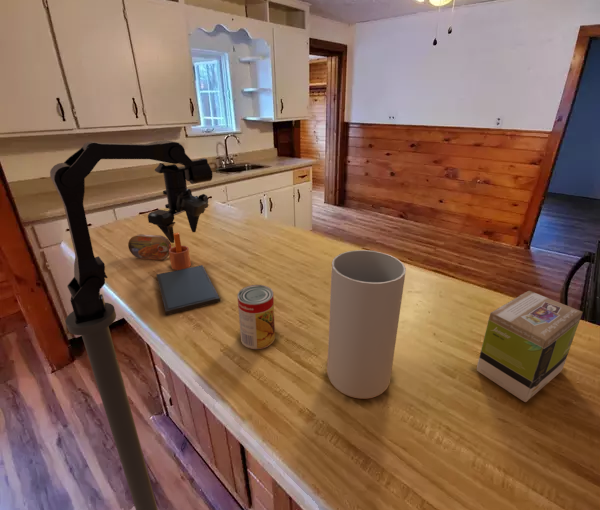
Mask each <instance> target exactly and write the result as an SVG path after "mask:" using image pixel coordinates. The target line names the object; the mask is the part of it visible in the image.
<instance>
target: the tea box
mask: <svg viewBox="0 0 600 510" xmlns="http://www.w3.org/2000/svg"><path fill="white" fill-rule="evenodd" d="M583 313H584V311H582V310H579V309H577V308H574V307H572V306H569V305H567V304H564V303H561V302H560V301H556V300H554V299H552V298H549V297H547V296H544V295H542V294H539V293H537V292H534V291H532V290H528V291H526V292H524V293H522V294H520V295H518V296H517V297H515V298H513V299H511V300H510V301H508V302H506V303H504V304H503V305H501V306H499V307H497V308H496V309H494V310H493V311H491V312H490V313H489V316H488V319H487V323H486V329H485V332H484V335H483V336H484V337H483V340H482V345H481V349H480V353H479V358H478V361H477V366H476V371H477V372H478V373H480V374H481V375H483V376H484V377H485V378H487V379H489V380H490V381H492V382H493V383H495V384H496V385H498V386H499V387H501V388H502V389H504V390H505V391H507V392H508V393H510V394H512V395H513V396H514V397H515V398H517V399H519V400H520V401H522V402H524V403H527V402H528V401H529V400H531V399H532V398H533V397H534V396H535V395H536V394H537V393H538V392H539V391H541V390H542V389H543V388H545V386H546V385H547V384H549V383H550V382H551V381H552V380H553V379H555V377H557V376H558V375H559V374H560V373H561V372H562V371H563V370H564V366H565V364H566V361H567V359H568V355H569V352H570V350H571V347H572V344H573V341H574V338H575V336H576V332H577V329H578V327H579V325H580V322H581V319H582V316H583Z"/></svg>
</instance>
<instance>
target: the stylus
mask: <svg viewBox="0 0 600 510" xmlns="http://www.w3.org/2000/svg"><path fill="white" fill-rule="evenodd" d="M173 233H174V247H176V253H180V252H182V248H181V246H182V242H181V235H180V233H179V232H173Z"/></svg>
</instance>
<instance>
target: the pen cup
mask: <svg viewBox="0 0 600 510" xmlns="http://www.w3.org/2000/svg"><path fill="white" fill-rule="evenodd" d="M171 247H172V246H171ZM181 248H182V252H180V253H176V247H175V246H173V247H172V248H171V249H169V261H170V268H171V269H172V270H173V271H176V270H181V269H185V268H190V267H192V266H191V265H192V263H191V262H192V261H191V254H190V248H189V246H187V245H181Z"/></svg>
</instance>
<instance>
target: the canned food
mask: <svg viewBox="0 0 600 510" xmlns="http://www.w3.org/2000/svg"><path fill="white" fill-rule="evenodd" d="M236 295H237V307H238V308H237V309H238V318H239V321H238V322H239V331H240V341H241V344H242V345H243V346H244V347H245V348H248V349H251V350H261V349H265V348H268V347H269V346H271V345H272V344H273V343H274V341H275V339H276V329H275V299H274V298H275V297H274V291H273V289H272V287H271V288H270V287H269V286H267V285H264V284H251V285H247V286H245V287H243V288H240V290H238V292H237V294H236Z"/></svg>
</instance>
